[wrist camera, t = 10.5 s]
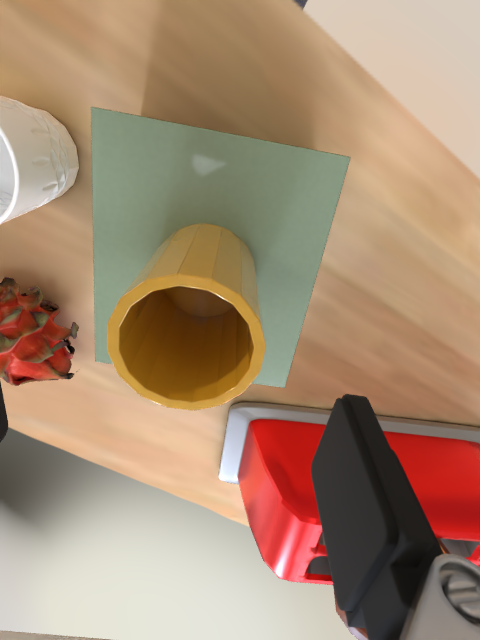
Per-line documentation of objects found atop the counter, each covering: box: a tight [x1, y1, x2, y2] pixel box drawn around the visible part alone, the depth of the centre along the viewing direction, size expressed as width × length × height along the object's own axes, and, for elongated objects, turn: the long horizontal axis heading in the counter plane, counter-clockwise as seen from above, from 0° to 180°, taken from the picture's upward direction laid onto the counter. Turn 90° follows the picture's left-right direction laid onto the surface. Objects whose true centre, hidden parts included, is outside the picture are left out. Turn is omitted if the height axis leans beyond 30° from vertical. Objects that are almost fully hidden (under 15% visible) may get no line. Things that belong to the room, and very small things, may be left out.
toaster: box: [219, 402, 480, 640], centre depth 35 cm, size 32×13×19 cm, turn 82°
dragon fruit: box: [0, 277, 79, 386], centre depth 32 cm, size 8×8×12 cm
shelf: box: [91, 107, 350, 388], centre depth 27 cm, size 16×14×10 cm
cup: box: [107, 223, 266, 410], centre depth 18 cm, size 6×6×9 cm
